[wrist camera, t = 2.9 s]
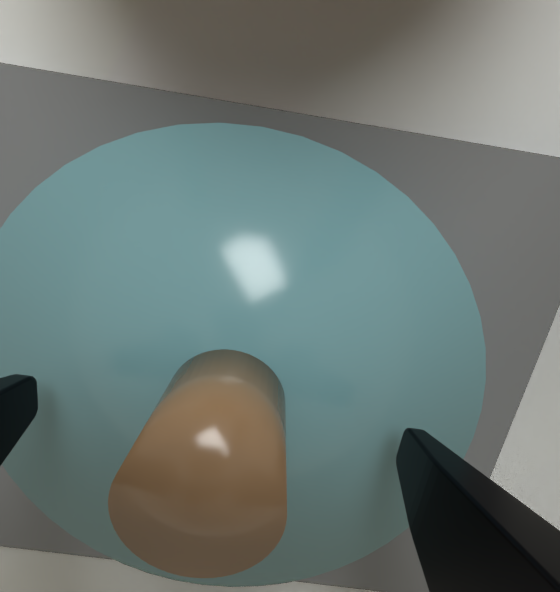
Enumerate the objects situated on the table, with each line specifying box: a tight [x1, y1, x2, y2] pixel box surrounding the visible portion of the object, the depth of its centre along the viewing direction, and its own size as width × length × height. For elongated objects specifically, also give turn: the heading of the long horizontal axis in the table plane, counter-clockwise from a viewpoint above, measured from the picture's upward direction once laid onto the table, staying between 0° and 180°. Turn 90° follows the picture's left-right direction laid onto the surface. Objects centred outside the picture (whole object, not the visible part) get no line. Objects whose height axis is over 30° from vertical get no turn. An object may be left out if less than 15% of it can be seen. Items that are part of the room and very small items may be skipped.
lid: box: [0, 123, 486, 587], centre depth 8 cm, size 13×13×4 cm
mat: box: [0, 63, 560, 592], centre depth 10 cm, size 16×14×1 cm
